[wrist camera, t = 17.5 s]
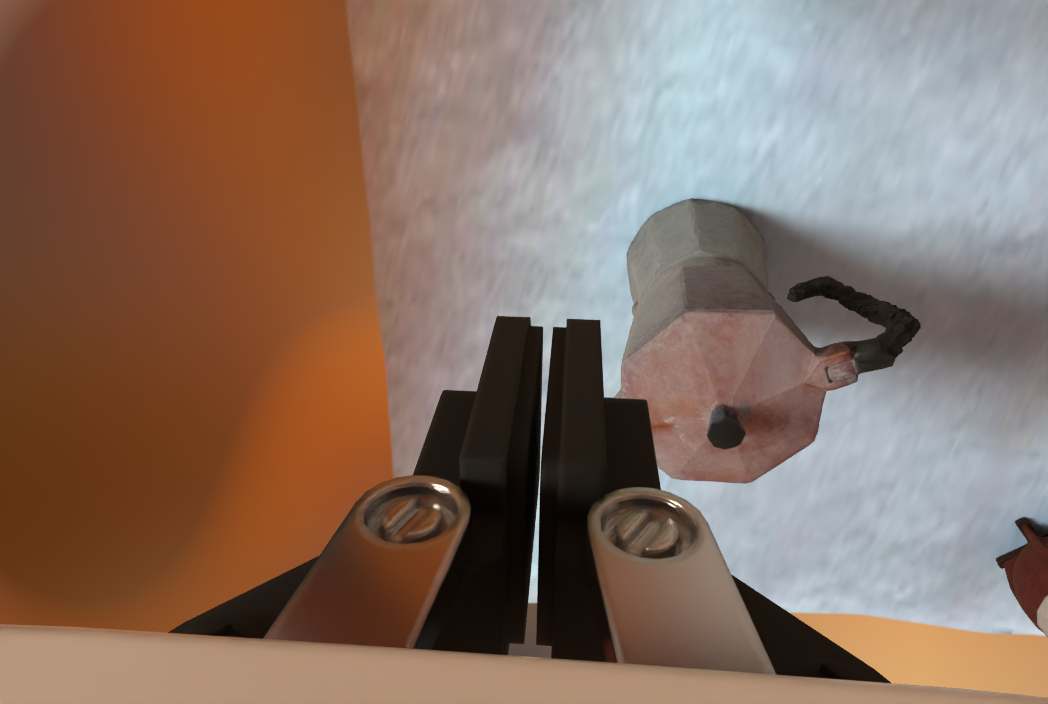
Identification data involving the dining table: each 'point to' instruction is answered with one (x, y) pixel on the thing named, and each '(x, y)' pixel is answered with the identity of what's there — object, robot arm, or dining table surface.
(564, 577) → the robot arm
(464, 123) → the dining table surface
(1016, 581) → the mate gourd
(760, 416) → the moka pot
